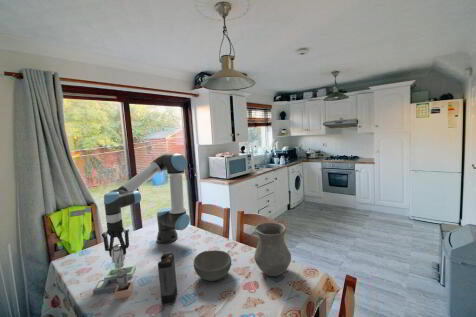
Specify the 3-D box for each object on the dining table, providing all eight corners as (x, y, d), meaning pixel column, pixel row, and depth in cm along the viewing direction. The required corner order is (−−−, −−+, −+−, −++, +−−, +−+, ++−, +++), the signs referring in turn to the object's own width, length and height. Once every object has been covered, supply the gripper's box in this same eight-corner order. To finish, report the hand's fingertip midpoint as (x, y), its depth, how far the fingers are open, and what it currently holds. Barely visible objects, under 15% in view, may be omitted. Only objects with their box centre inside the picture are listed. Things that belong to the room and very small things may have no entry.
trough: (135, 270, 131) (135, 265, 131) (132, 278, 123) (131, 273, 123) (110, 274, 128) (109, 269, 128) (104, 283, 120) (104, 277, 120)
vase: (260, 286, 111) (257, 238, 108) (251, 264, 129) (249, 223, 127) (297, 280, 114) (296, 233, 111) (284, 260, 132) (282, 219, 130)
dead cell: (131, 289, 113) (128, 266, 111) (126, 296, 108) (123, 272, 106) (122, 289, 113) (119, 266, 111) (117, 296, 108) (114, 272, 106)
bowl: (202, 294, 108) (200, 274, 107) (190, 272, 126) (189, 255, 125) (238, 279, 117) (237, 261, 116) (223, 261, 135) (222, 245, 134)
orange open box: (133, 288, 114) (132, 281, 114) (129, 297, 108) (128, 290, 108) (119, 291, 113) (118, 283, 113) (115, 300, 107) (114, 292, 106)
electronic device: (165, 291, 111) (162, 253, 109) (177, 290, 111) (174, 252, 109) (160, 306, 101) (156, 264, 99) (174, 304, 102) (170, 263, 100)
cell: (124, 263, 127) (122, 242, 126) (122, 268, 123) (120, 246, 122) (116, 265, 126) (113, 243, 125) (113, 269, 122) (111, 247, 121)
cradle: (124, 280, 122) (124, 276, 121) (119, 291, 113) (119, 286, 113) (100, 284, 119) (99, 280, 119) (93, 295, 111) (92, 290, 111)
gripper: (133, 216, 128) (137, 255, 130) (99, 220, 124) (104, 259, 126) (129, 221, 120) (133, 262, 123) (93, 225, 117) (99, 267, 119)
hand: (118, 260), depth 124 cm, fingers closed on cell, 4 cm apart
